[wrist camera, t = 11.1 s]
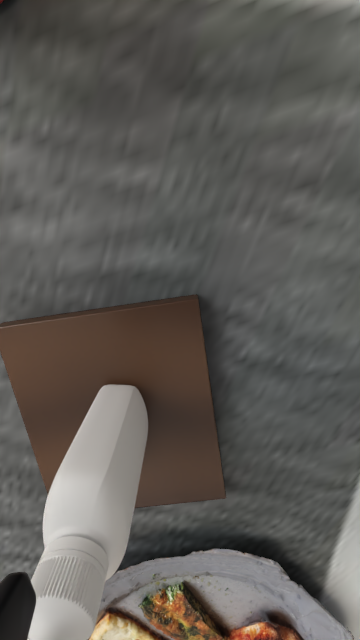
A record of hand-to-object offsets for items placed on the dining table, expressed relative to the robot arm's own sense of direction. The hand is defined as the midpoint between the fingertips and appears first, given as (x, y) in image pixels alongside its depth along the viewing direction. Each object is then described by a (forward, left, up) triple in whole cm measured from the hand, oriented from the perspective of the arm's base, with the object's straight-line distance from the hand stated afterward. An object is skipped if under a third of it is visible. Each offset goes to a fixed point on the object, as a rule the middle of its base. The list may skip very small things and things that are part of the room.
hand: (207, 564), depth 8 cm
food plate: (-26, +3, -13) cm, 29 cm away
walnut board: (-3, +5, -13) cm, 14 cm away
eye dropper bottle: (-3, +5, -12) cm, 13 cm away
